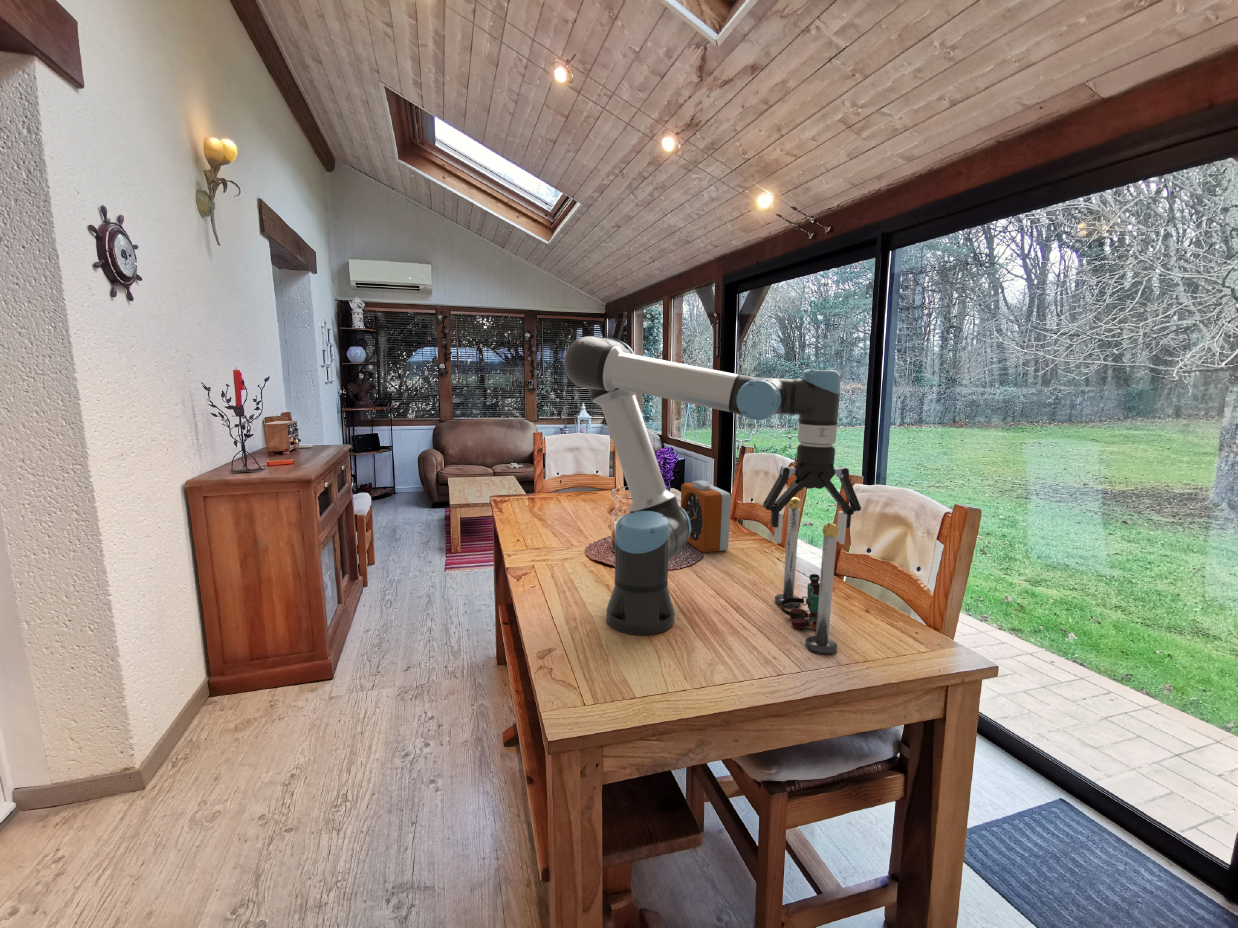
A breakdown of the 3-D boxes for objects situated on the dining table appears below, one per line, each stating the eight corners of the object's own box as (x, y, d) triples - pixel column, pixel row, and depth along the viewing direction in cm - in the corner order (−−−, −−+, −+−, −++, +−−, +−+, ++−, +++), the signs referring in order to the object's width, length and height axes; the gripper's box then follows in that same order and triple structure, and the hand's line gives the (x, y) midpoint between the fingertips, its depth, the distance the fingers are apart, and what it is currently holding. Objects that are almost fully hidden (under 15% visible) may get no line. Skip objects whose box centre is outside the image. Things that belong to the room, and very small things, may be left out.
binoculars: (778, 572, 129) (824, 571, 126) (780, 616, 130) (825, 616, 128) (781, 586, 120) (830, 586, 118) (783, 633, 121) (832, 634, 119)
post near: (811, 654, 111) (821, 527, 107) (801, 640, 117) (810, 518, 113) (841, 655, 111) (853, 527, 107) (830, 640, 117) (840, 519, 113)
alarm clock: (678, 536, 187) (680, 476, 184) (702, 534, 190) (705, 474, 187) (703, 554, 170) (705, 487, 167) (729, 551, 173) (732, 486, 169)
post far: (778, 607, 133) (786, 500, 128) (771, 597, 139) (778, 494, 134) (804, 608, 133) (812, 500, 128) (796, 597, 139) (803, 494, 134)
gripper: (761, 446, 114) (755, 546, 118) (884, 447, 114) (874, 547, 118) (752, 441, 122) (747, 535, 125) (867, 442, 122) (858, 537, 125)
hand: (809, 542), depth 122 cm, fingers open, 13 cm apart
